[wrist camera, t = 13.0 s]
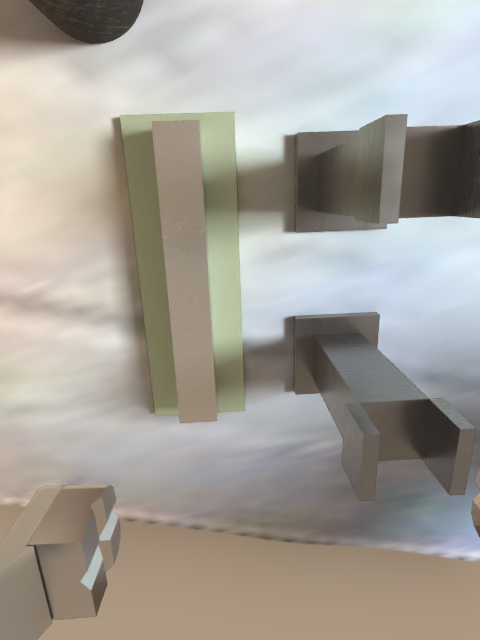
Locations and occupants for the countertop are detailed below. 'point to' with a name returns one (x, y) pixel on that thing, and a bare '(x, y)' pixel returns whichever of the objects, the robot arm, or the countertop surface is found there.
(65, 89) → the countertop surface
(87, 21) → the travel mug
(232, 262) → the mat
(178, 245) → the rail
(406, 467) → the countertop surface
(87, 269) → the countertop surface
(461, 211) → the posts
